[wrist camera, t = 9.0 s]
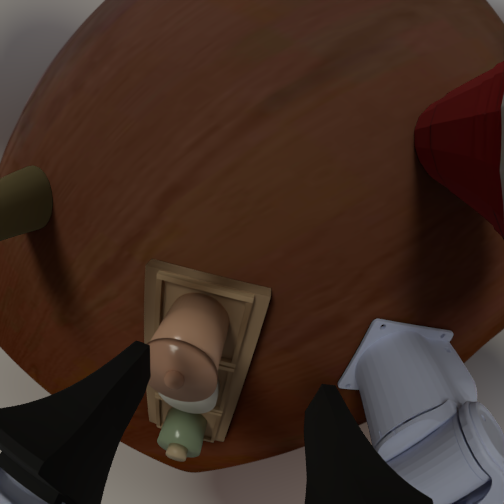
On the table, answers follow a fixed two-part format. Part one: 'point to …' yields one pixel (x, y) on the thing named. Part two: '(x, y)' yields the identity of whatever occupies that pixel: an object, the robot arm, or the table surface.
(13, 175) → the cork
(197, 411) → the white rounded disc
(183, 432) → the green jar
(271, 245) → the table surface
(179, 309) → the spice jar
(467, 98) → the plastic cup
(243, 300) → the tray
